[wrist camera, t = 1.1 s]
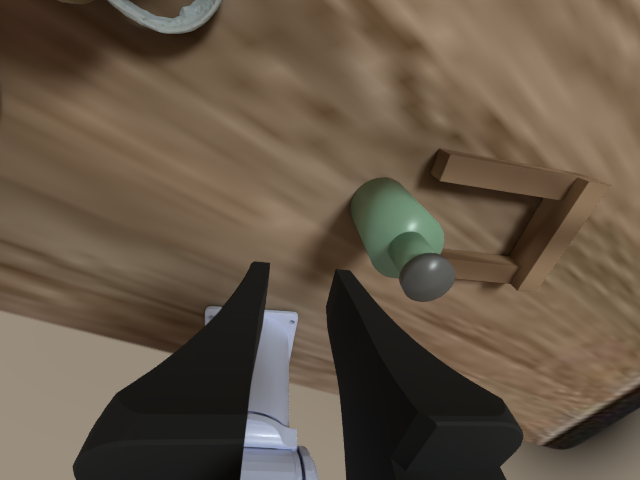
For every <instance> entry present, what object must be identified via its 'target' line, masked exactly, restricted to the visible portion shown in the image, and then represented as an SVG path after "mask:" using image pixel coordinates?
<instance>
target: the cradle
mask: <svg viewBox="0 0 640 480" xmlns="http://www.w3.org/2000/svg"><path fill="white" fill-rule="evenodd" d="M430 174H431V175H433V176H434V177H435V178H437V179H438V180H439V181H443V182H449V183H455V184H461V185H468V186H474V187H480V188H487V189H493V190H499V191H505V192H512V193H518V194H524V195H530V196H537V197H543V200H542V201H541V203H540V205H539V206H538V208H537V210H536V211H535V213H534V215H533V216H532V218H531V220H530V222H529V223H528V225H527V227H526V228H525V230H524V232H523V233H522V235H521V237H520V238H519V240H518V242H517V243H516V245H515V247H514V248H513V250H512V252H511V253H510V255H509V256H502V255H494V254H485V253H476V252H468V251H459V250H450V249H442V252H441V254H440V255H442V256H444V257H445V258H446V259H447V260H448V261H449V263H450V264H451V265H452V266H453V268H454V270H455V278H456V279H466V280H477V281H487V282H497V283H508V284H511V285H512V286H513V287H514V288H515V289H516V290H517V291H527V292H536V291H537V290H538V288H539V287H540V285H541V284H542V283H543V281H544V280H545V278H546V277H547V275H548V274H549V273H550V271H551V270H552V268H553V267H554V265H555V264H556V263H557V261H558V260H559V258H560V257H561V255H562V254H563V253H564V251H565V250H566V248H567V247H568V245H569V244H570V243H571V241H572V240H573V238H574V237H575V235H576V234H577V233H578V231H579V230H580V228H581V227H582V225H583V224H584V223H585V221H586V220H587V218H588V217H589V215H590V214H591V213H592V211H593V210H594V208H595V207H596V206H597V204H598V203H599V201H600V200H601V198H602V197H603V196H604V194H605V193H606V191H607V190H608V188H609V187H610V186H611V185H608V184H606V183H603V182H600V181H597V180H595V179H592V178H589V177H587V176H584V175H581V174H577V173H572V172H566V171H561V170H555V169H550V168H544V167H539V166H533V165H528V164H522V163H516V162H511V161H505V160H500V159H494V158H489V157H483V156H478V155H472V154H467V153H461V152H456V151H450V150H445V149H439V151H438V154H437V157H436V159H435V162H434V165H433V167H432V170H431V172H430Z"/></svg>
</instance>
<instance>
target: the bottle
mask: <svg viewBox="0 0 640 480" xmlns="http://www.w3.org/2000/svg"><path fill="white" fill-rule="evenodd" d="M350 211H351V216H352V218H353V221H354V223H355V225H356V228H357V230H358V232H359V235H360V237H361V239H362V241H363V244H364V246H365V248H366V251H367V253H368V255H369V258H370V260H371V262H372V264H373V266H374V267H375V269H376V270H377V271H378V272H380V273H381V274H383V275H385V276H388V277H391V278H399V282H400V285H401V287H402V289H403V290H404V292H405V294H406V295H407V297H409V298H410V299H412V300H414V301H419V302H426V301H431V300H434V299H437V298H439V297H441V296H442V295H444V294H445V293H446V292H447V291H448V290H449V289H450V288H451V287H452V285H453V283H454V280H455V270H454V268H453V266H452V265H451V264H450V263H449V261H448V260H447V259H446V258H445V257H444V256H442V255H440V254H441V252H442V249H443V246H444V233H443V230H442V228H441V226H440V224H439V223H438V222H437V221H436V220H435V219H434V218H433V217H432V216H431V215H430V214H429V213H428V212H427V211H426V210H425V209H424V208H423V207H422V206H421V205H420V204H419V203H418V201H417V200H416V199H415V198H414V197H413V196H412V195H411V194H410V193H409V192H408V191H407V190H406V189H405V188H404V187H403V186H402V185H401V184H400V183H399V182H397V181H395V180H393V179H390V178H376V179H373V180H370V181H368V182H366V183H365V184H363V185H362V186H361V187H360V188H359V189H358V190H357V191H356V193H355V194H354V196H353V198H352V201H351V205H350Z"/></svg>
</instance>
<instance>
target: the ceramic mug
mask: <svg viewBox="0 0 640 480" xmlns="http://www.w3.org/2000/svg"><path fill="white" fill-rule="evenodd" d="M58 1H61V2H64V3H72V4H87V3H91V2H92V1H94V0H58ZM107 1H108V2H109V3H110V4H111V5H112V6H114V7H115V8H116V9H118V10H119V11H120V12H122V13H123V14H124V15H125V16H127V17H129V18H131V19H133V20H134V21H136V22H137V23H139V24H140V25H142V26H145V27H147V28H150V29H153V30H155V31H157V32H161V33H169V34H182V33H186V32H191V31H194V30H196V29H197V28H198V27H201V26H202V25H203V24H205V23H206V22H207V21H208V20H209V19H210V18H211V17H212V16H213V14H214V13H215V12H216V11H217V10H218V8H219V6H220V4H221V2H222V0H195V1H194V2H193V3H192V4H191V5H190V6H186V7H182V9H181V11H180V15H179V16H178V17H175V18H174V19H171V18H166V17H159V16H155V15H153V14H151V13H149V12H148V11H146V10H143V9H141V8H139V7H138V6H136V5H135V4H133V3H132V2H130V1H129V0H107Z"/></svg>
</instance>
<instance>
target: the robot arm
mask: <svg viewBox="0 0 640 480" xmlns="http://www.w3.org/2000/svg"><path fill="white" fill-rule="evenodd" d="M269 270H270V263H265V262H255V261H254V262H253V263H251V265H250V268H249V270H248V272H247V274H246V275H245V277H244V279H243V280H242V282H241V283H240V285H239V286H238V288H237V289H236V291H235V292H234V293H233V295H232V296H231V297H230V299H229V300H228V301H227V302H226V303H225V305H224V306H223V307H217V306H209V307H207V308H206V310H205V326H204V327H203V328H202V329H201V330H200V331H199V332H198V333H197V334H196V335H195V336H194V337H193V338H192V339H190V340H189V341H188V342H187V343H186V344H185V345H184V346H182V347H181V348H180V349H179V350H177V351H176V352H175V353H173V354H172V355H171V356H170V357H168V358H167V359H166V360H165V361H163V362H162V363H161V364H159V365H158V366H157V367H155V368H154V369H152V370H151V371H150V372H148V373H147V374H145V375H144V376H142V377H141V378H139V379H138V380H136V381H134V382H133V383H131V384H130V385H128V386H127V387H125V388H124V389H122V390H121V391H119V392H118V393H117V394H116V395H115V396H114V397H113V399H112V400H111V401H110V403H109V404H108V405H107V407H106V408H105V410H104V411H103V413H102V414H101V416H100V417H99V418H98V420H97V421H96V423H95V425H94V426H93V428H92V429H91V431H90V433H89V435H88V437H87V439H86V441H85V443H84V445H83V447H82V449H81V451H80V453H79V455H78V457H77V458H76V460H75V463H74V465H73V472H74V476H75V478H76V480H319V478H318V472H317V468H316V465H315V462H314V460H313V459H312V457H311V456H310V453H309V451H308V450H307V448H306V447H304V446H297V430H296V429H295V428H289V360H290V355H291V350H292V345H293V340H294V335H295V330H296V325H297V320H298V314H297V313H296V312H292V311H277V310H265V304H266V296H267V288H268V280H269ZM326 314H327V328H328V334H329V339H330V344H331V349H332V354H333V359H334V364H335V369H336V374H337V379H338V386H339V393H340V403H341V413H342V425H343V437H344V450H345V466H346V480H506V478H505V476H504V474H503V472H502V470H501V468H500V466H501V465H502V464H503V463H504V462H505V461H506V460H507V459H508V458H509V457H510V456H512V455H513V453H514V452H516V450H517V449H518V448H519V447H520V446H521V443H522V440H523V432H522V429H521V428H520V426H519V424H518V423H517V421H516V420H515V418H514V417H513V415H512V414H511V412H510V410H509V409H508V407H507V406H506V404H505V403H504V401H503V400H502V399H501V398H499V397H498V396H496V395H494V394H493V393H491V392H489V391H487V390H486V389H484V388H482V387H480V386H479V385H477V384H475V383H474V382H472V381H470V380H469V379H467V378H465V377H464V376H462V375H461V374H459V373H458V372H456V371H455V370H453V369H452V368H450V367H449V366H447V365H446V364H445V363H443V362H442V361H440V360H439V359H438V358H436V357H435V356H434V355H432V354H431V353H430V352H428V351H427V350H426V349H424V348H423V347H422V346H421V345H420V344H418V343H417V342H416V341H415V340H414V339H412V338H411V337H410V336H409V335H408V334H407V333H406V332H405V331H403V330H402V329H401V328H400V327H399V326H398V325H397V324H396V323H395V322H394V321H393V320H392V319H391V318H390V317H389V316H388V315H387V314H386V313H385V312H384V311H383V309H382V308H381V307H380V306H379V305H378V304H377V303H376V302H375V300H374V299H373V298H372V297H371V296H370V295H369V293H368V292H367V291H366V290H365V288H364V287H363V286H362V285H361V283H360V282H359V281H358V280H357V278H356V277H355V276H354V275H353V273H352V272H351V271H349V270H339V269H336V270H335V274H334V278H333V282H332V286H331V289H330V293H329V297H328V301H327V305H326ZM210 315H211V316H210ZM291 320H293V321H291Z"/></svg>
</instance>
